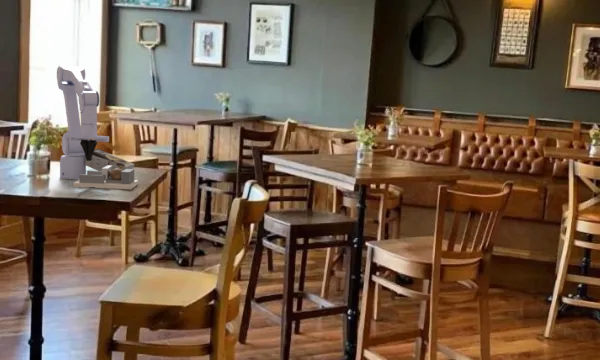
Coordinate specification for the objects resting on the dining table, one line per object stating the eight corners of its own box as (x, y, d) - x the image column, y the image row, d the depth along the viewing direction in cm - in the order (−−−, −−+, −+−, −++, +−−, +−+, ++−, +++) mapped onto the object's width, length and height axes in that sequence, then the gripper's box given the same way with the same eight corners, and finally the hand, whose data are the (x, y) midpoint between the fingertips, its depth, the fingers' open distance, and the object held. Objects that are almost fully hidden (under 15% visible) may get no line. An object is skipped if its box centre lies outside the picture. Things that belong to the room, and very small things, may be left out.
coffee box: (127, 166, 292) (89, 150, 293) (121, 181, 293) (84, 165, 294) (135, 163, 301) (98, 148, 302) (129, 178, 302) (93, 163, 303)
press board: (73, 186, 277) (73, 170, 276) (83, 181, 289) (83, 166, 288) (130, 189, 277) (130, 173, 276) (138, 184, 289) (138, 168, 288)
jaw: (101, 179, 278) (101, 168, 278) (107, 175, 286) (107, 165, 286) (107, 179, 278) (107, 168, 278) (113, 176, 286) (113, 165, 286)
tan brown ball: (108, 182, 280) (109, 168, 279) (111, 180, 285) (112, 166, 284) (122, 183, 280) (122, 169, 279) (125, 181, 285) (125, 167, 284)
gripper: (65, 123, 276) (65, 160, 278) (105, 125, 275) (105, 162, 278) (71, 122, 283) (72, 158, 285) (110, 124, 282) (110, 160, 285)
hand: (88, 160), depth 282 cm, fingers closed
